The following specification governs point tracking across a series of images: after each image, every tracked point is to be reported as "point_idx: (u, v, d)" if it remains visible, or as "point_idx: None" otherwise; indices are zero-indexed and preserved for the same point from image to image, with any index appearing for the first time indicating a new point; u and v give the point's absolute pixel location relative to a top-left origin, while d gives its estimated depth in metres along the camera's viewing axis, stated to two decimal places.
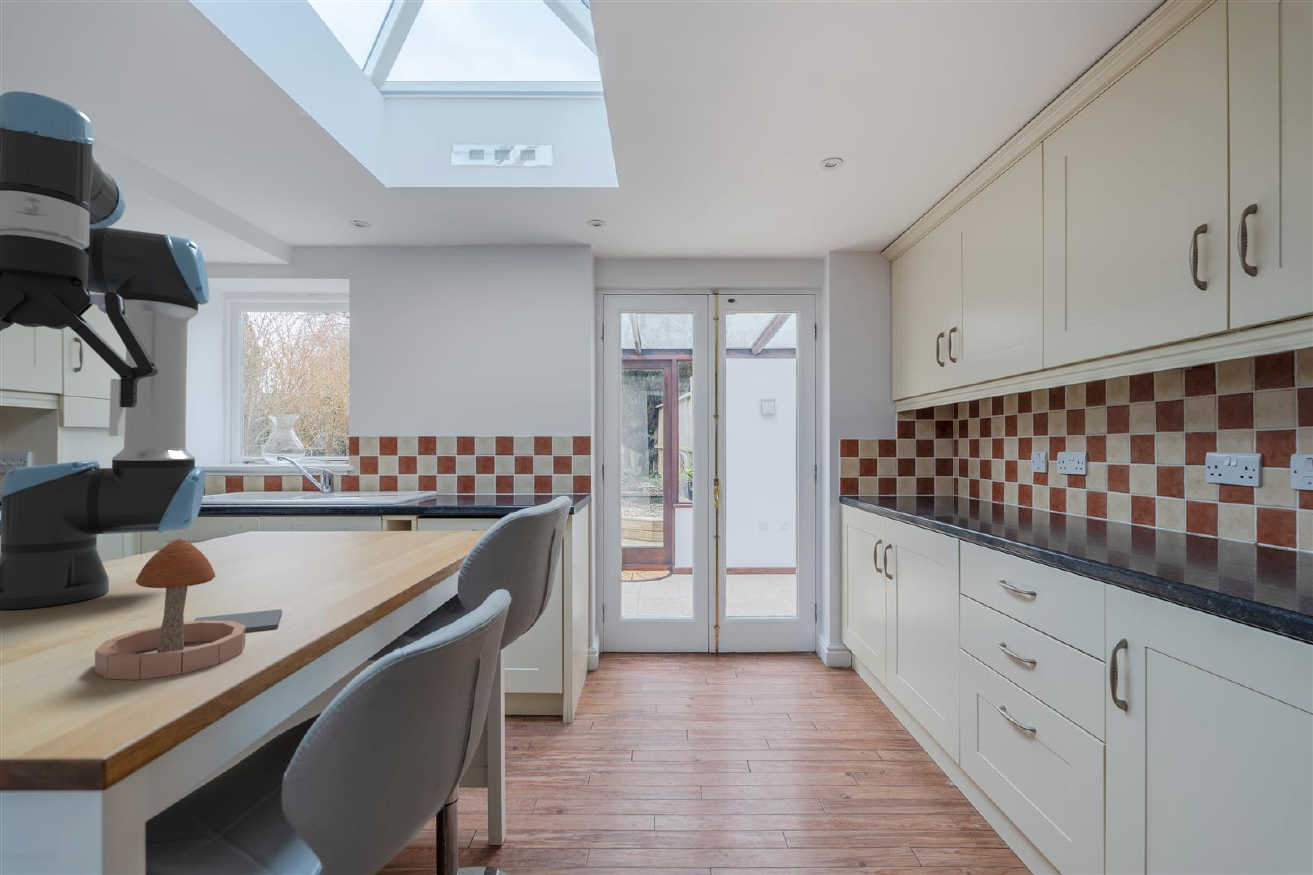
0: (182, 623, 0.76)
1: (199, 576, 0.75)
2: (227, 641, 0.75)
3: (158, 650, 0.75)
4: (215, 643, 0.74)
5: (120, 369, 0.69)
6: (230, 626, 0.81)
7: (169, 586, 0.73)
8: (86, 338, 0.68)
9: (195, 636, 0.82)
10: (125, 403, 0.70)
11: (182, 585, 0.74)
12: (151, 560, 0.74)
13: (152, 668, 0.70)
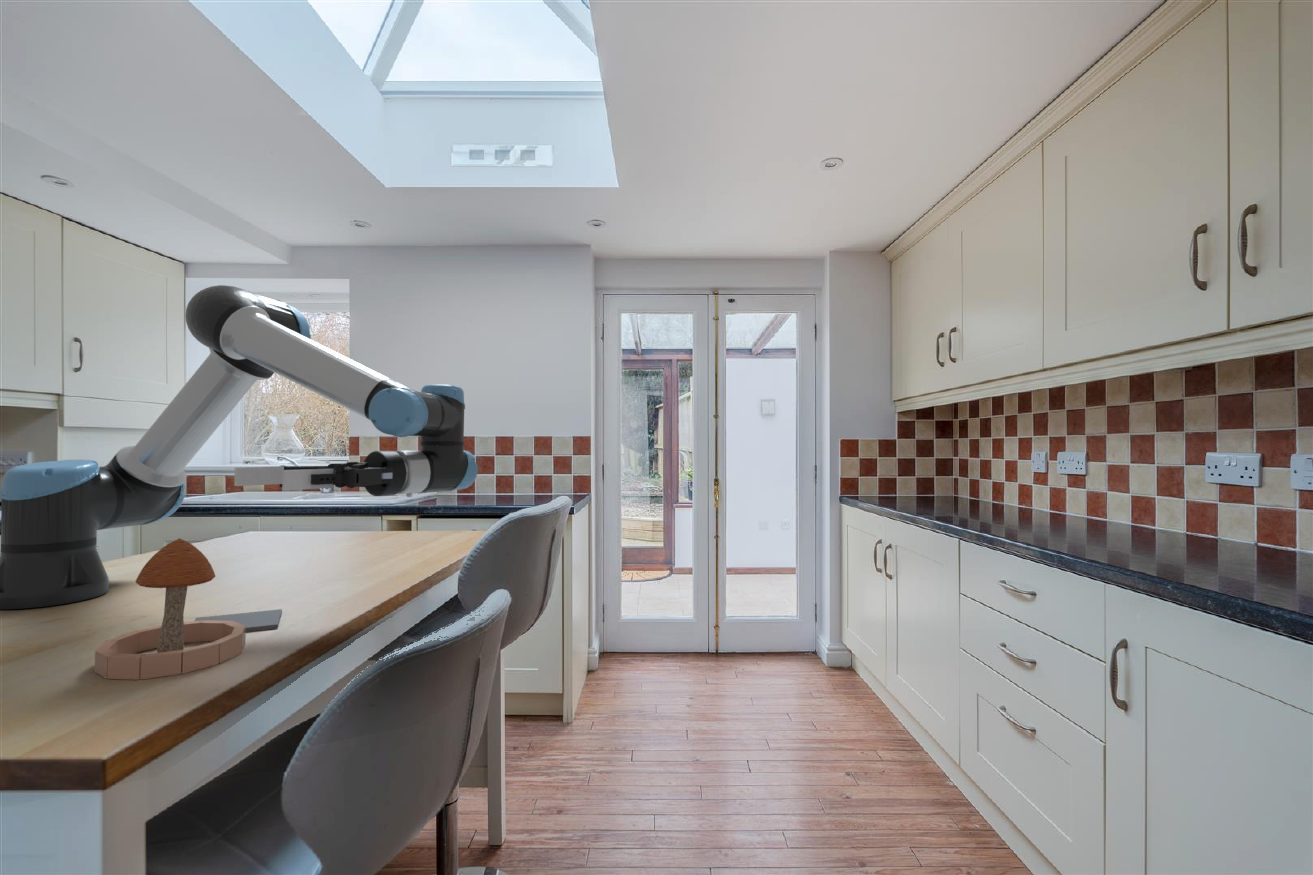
0: (182, 623, 0.76)
1: (199, 576, 0.75)
2: (227, 641, 0.75)
3: (158, 650, 0.75)
4: (215, 643, 0.74)
5: None
6: (230, 626, 0.81)
7: (169, 586, 0.73)
8: None
9: (195, 636, 0.82)
10: None
11: (182, 585, 0.74)
12: (151, 560, 0.74)
13: (152, 668, 0.70)
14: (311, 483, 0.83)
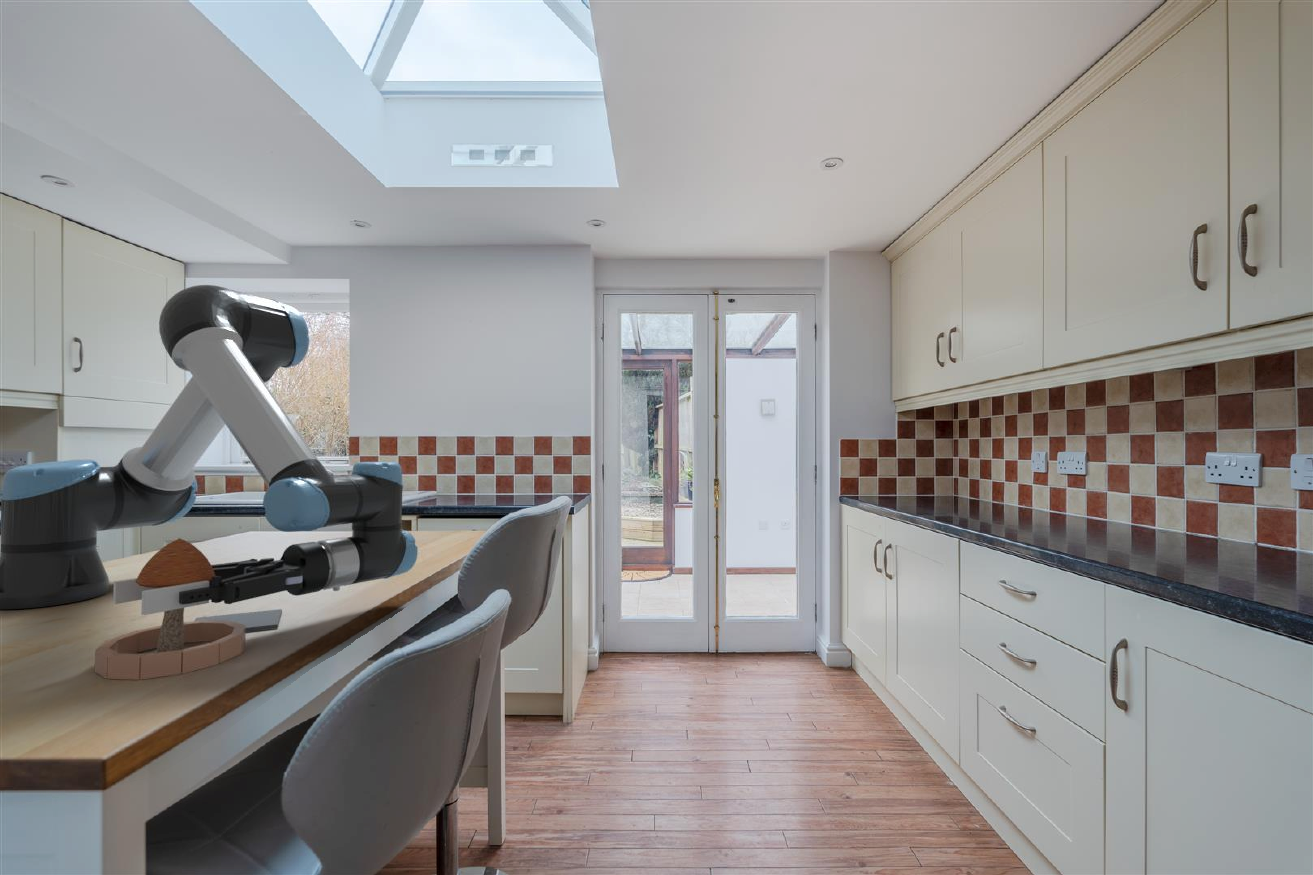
0: (182, 623, 0.76)
1: (199, 576, 0.75)
2: (227, 641, 0.75)
3: (158, 650, 0.75)
4: (215, 643, 0.74)
5: None
6: (230, 626, 0.81)
7: (169, 586, 0.73)
8: None
9: (195, 636, 0.82)
10: None
11: None
12: (151, 560, 0.74)
13: (152, 668, 0.70)
14: (179, 602, 0.73)
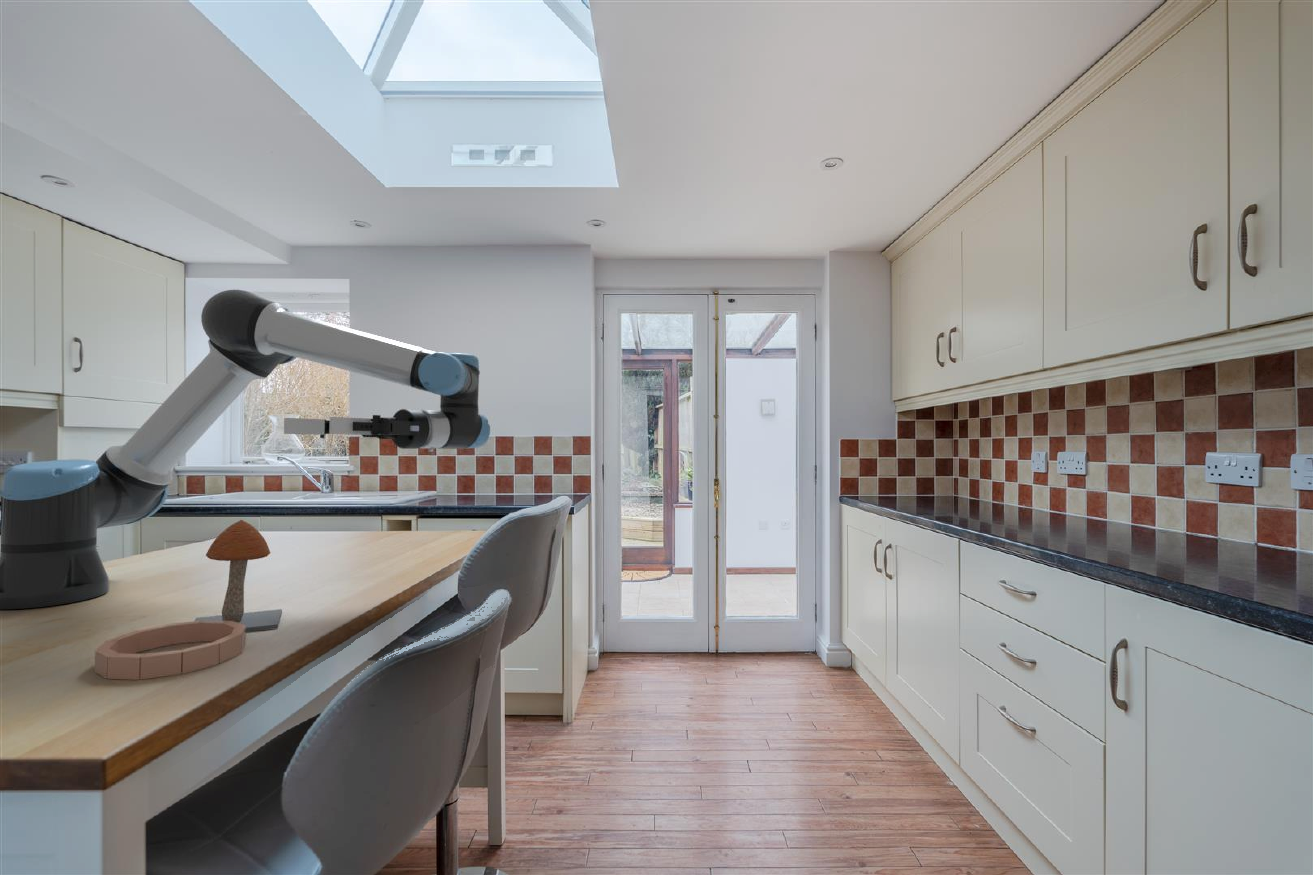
0: (243, 592, 0.90)
1: (258, 551, 0.89)
2: (227, 641, 0.75)
3: (223, 614, 0.89)
4: (215, 643, 0.74)
5: None
6: (230, 626, 0.81)
7: (234, 559, 0.87)
8: None
9: (195, 636, 0.82)
10: None
11: (245, 559, 0.88)
12: (219, 537, 0.88)
13: (152, 668, 0.70)
14: (353, 429, 0.97)
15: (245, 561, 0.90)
